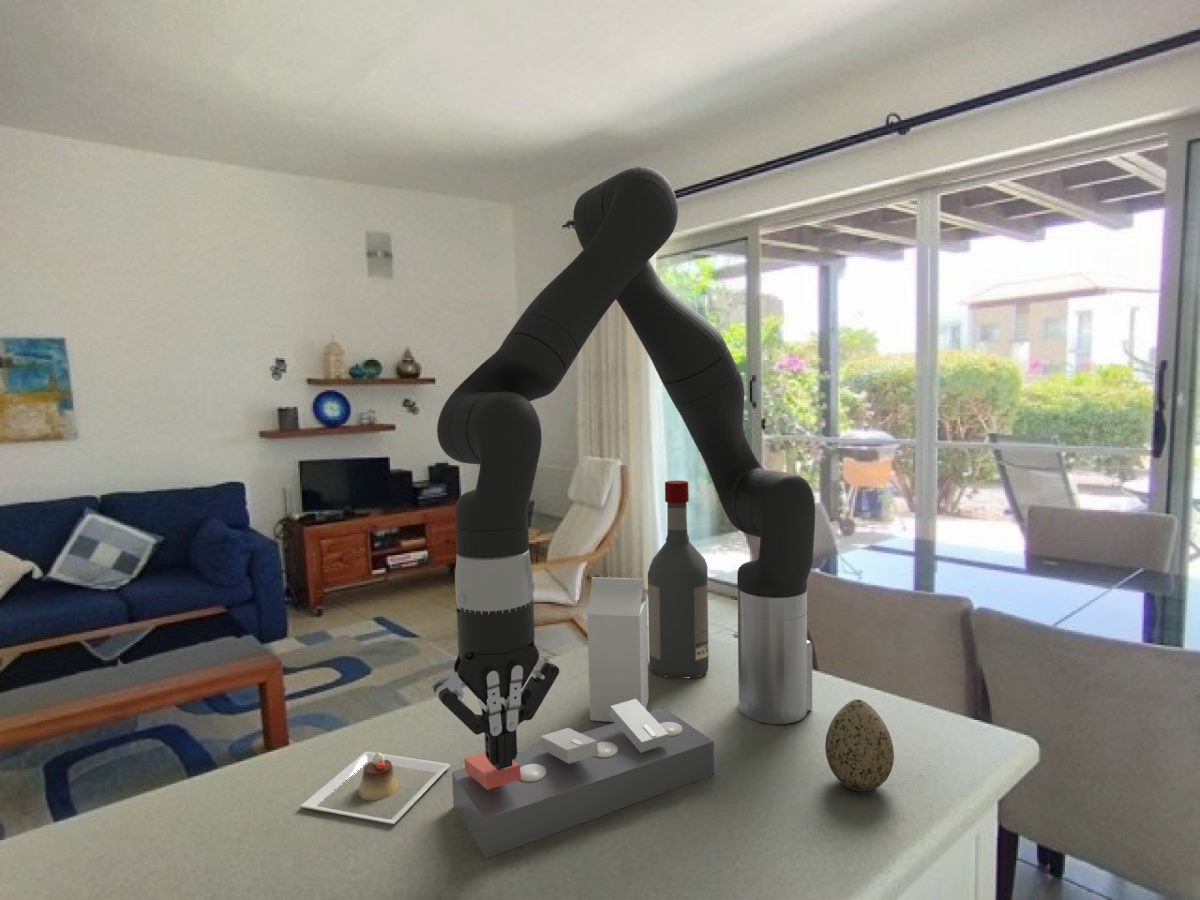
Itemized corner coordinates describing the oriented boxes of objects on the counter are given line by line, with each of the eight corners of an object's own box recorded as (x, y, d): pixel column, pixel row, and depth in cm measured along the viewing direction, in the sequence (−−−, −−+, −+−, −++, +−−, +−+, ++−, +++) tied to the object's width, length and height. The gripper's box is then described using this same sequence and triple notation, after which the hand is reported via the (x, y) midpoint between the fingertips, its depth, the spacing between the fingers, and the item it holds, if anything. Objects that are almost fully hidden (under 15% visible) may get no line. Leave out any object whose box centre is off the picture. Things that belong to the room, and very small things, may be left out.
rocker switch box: (665, 737, 91) (664, 706, 90) (714, 774, 82) (713, 739, 81) (453, 806, 77) (451, 770, 76) (485, 858, 68) (483, 817, 68)
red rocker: (497, 762, 77) (495, 748, 77) (521, 779, 71) (519, 763, 71) (465, 771, 76) (463, 757, 76) (487, 789, 69) (485, 774, 70)
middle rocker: (570, 740, 82) (568, 726, 82) (598, 754, 76) (596, 739, 76) (541, 748, 80) (540, 735, 80) (568, 763, 74) (567, 748, 74)
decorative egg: (815, 791, 78) (815, 704, 77) (837, 762, 84) (837, 681, 83) (882, 813, 74) (883, 722, 73) (901, 782, 79) (902, 696, 78)
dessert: (394, 833, 73) (392, 790, 73) (299, 815, 77) (296, 774, 77) (451, 772, 85) (449, 734, 84) (366, 759, 88) (364, 722, 88)
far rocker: (634, 708, 86) (636, 697, 86) (667, 744, 80) (668, 732, 80) (609, 716, 84) (610, 705, 84) (640, 752, 78) (642, 741, 78)
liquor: (648, 677, 109) (644, 486, 107) (653, 655, 118) (650, 478, 116) (708, 680, 108) (705, 486, 105) (708, 657, 117) (706, 478, 114)
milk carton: (641, 725, 94) (638, 586, 92) (589, 721, 96) (585, 584, 94) (648, 701, 101) (646, 572, 99) (600, 698, 102) (596, 570, 101)
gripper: (540, 577, 76) (545, 732, 77) (417, 597, 69) (425, 766, 71) (572, 594, 69) (577, 763, 71) (440, 618, 63) (448, 804, 64)
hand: (501, 764), depth 71 cm, fingers closed
